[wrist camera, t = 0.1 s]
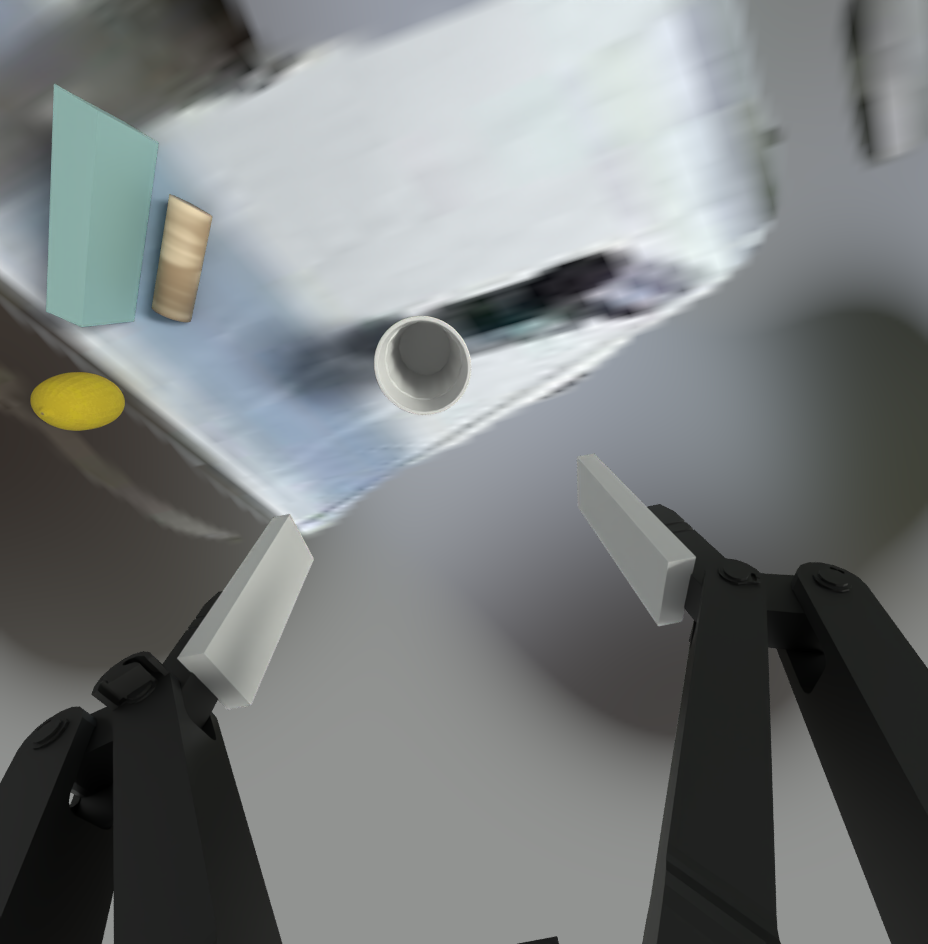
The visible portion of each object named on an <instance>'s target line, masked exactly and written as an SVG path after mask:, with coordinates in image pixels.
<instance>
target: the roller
mask: <svg viewBox="0 0 928 944" xmlns="http://www.w3.org/2000/svg"><path fill="white" fill-rule="evenodd" d="M211 221H212V216H211V215H210V214H208V213H206V212H205V211H203V210H201V209H199V208H198V207H196V206H194V205H192V204H191V203H189V202H187V201H185V200H183V199H181V198H178V197H176V196H174V195H171V194H169V200H168V207H167V213H166V220H165V226H164V232H163V239H162V245H161V251H160V258H159V264H158V271H157V277H156V283H155V290H154V296H153V303H152V309H153V310H154V311H155V312H157V313H158V314H160V315H162V316H165V317H167V318H170V319H173V320H176V321H181V322H191V319H192V314H193V309H194V304H195V299H196V294H197V290H198V285H199V280H200V275H201V270H202V265H203V260H204V255H205V250H206V246H207V241H208V236H209V231H210V226H211Z"/></svg>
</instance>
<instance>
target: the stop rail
mask: <svg viewBox="0 0 928 944" xmlns="http://www.w3.org/2000/svg"><path fill="white" fill-rule="evenodd" d="M158 144H159V143H158V142H156V141H155V140H153V139H151V138H150V137H148V136H147V135H145V134H143V133H142V132H140V131H138V130H137V129H135V128H133V127H132V126H130V125H129V124H127V123H125V122H124V121H122V120H120V119H118V118H116V117H114V116H112V115H111V114H109V113H107V112H105V111H103V110H101V109H100V108H98V107H96V106H94V105H92V104H90V103H89V102H87V101H85V100H83V99H81V98H79V97H78V96H76V95H74V94H72V93H70V92H68V91H67V90H65V89H63V88H61V87H59V86H57V85H56V84H54V102H53V130H52V159H51V187H50V215H49V244H48V272H47V300H46V312H48V313H51V314H53V315H55V316H57V317H60V318H62V319H64V320H66V321H69V322H71V323H73V324H76V325H78V326H80V327H87V326H96V325H105V324H114V323H123V322H132V321H134V318H135V310H136V303H137V296H138V289H139V281H140V274H141V267H142V260H143V252H144V245H145V238H146V231H147V223H148V216H149V209H150V202H151V194H152V187H153V180H154V173H155V165H156V158H157V151H158Z"/></svg>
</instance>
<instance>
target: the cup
mask: <svg viewBox="0 0 928 944" xmlns="http://www.w3.org/2000/svg"><path fill="white" fill-rule="evenodd" d="M374 370H375V376H376V379H377V382H378V384H379V386H380V388H381V390H382V392H383V393H384V395H385V396H386V397H387V398H388V399H389V400H390V401H391V402H392V403H393V404H394V405H396V406H397V407H399V408H400V409H402V410H404V411H407V412H409V413H413V414H418V415H431V414H436V413H440V412H442V411H445V410H447V409H448V408H450V407H451V406H453V405H454V404H455V403H456V402H457V401H458V400H459V399H460V398H461V397H462V395H463V394H464V392H465V390H466V388H467V386H468V384H469V380H470V376H471V359H470V354H469V351H468V348H467V346H466V344H465V342H464V340H463V339H462V337H461V336H460V335H459V334H458V332H457V331H456V330H455V329H453V328H452V327H451V326H450V325H448V324H447V323H445V322H443V321H441V320H439V319H436V318H433V317H428V316H413V317H409V318H405V319H403V320H401V321H399V322H397V323H395V324H394V325H392V326H391V327H390V328H389V329H388V330H387V331H386V332H385V333H384V335H383V336H382V337H381V339H380V341H379V343H378V345H377V348H376V352H375V357H374Z"/></svg>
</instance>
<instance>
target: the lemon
mask: <svg viewBox="0 0 928 944" xmlns="http://www.w3.org/2000/svg"><path fill="white" fill-rule="evenodd" d="M31 406H32V408H33V410H34V412H35V413H36V414H37V416H38V417H40V418H41V419H42V420H43V421H45V422H46V423H48V424H50V425H52V426H55V427H57V428H61V429H65V430H88V429H93V428H98V427H101V426H104V425H106V424H108V423H110V422H112V421H114V420H115V419H116V418H117V417H118V416H119V415H120V414H121V413H122V411H123V409H124V406H125V400H124V396H123V394H122V392H121V390H120V389H119V388H118V387H117V386H116V385H115V384H114V383H113V382H111V381H109V380H108V379H106V378H104V377H101V376H99V375H96V374H91V373H85V372H71V373H64V374H60V375H57V376H54V377H51V378H49V379H47V380H45V381H43V382H42V383H41V384H39V385H38V386H37V387H36V388H35V389H34V390H33V392H32V394H31Z"/></svg>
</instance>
